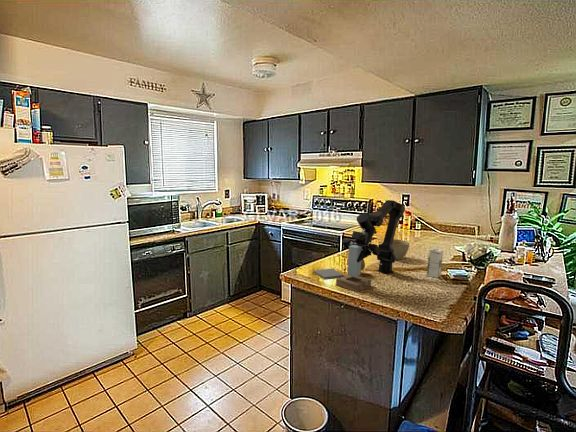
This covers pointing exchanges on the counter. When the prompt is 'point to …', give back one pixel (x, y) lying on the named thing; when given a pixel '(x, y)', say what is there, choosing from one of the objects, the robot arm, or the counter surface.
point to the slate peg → (354, 260)
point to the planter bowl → (400, 248)
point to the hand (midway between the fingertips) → (353, 260)
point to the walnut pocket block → (353, 282)
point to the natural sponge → (362, 264)
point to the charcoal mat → (328, 273)
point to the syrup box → (434, 263)
